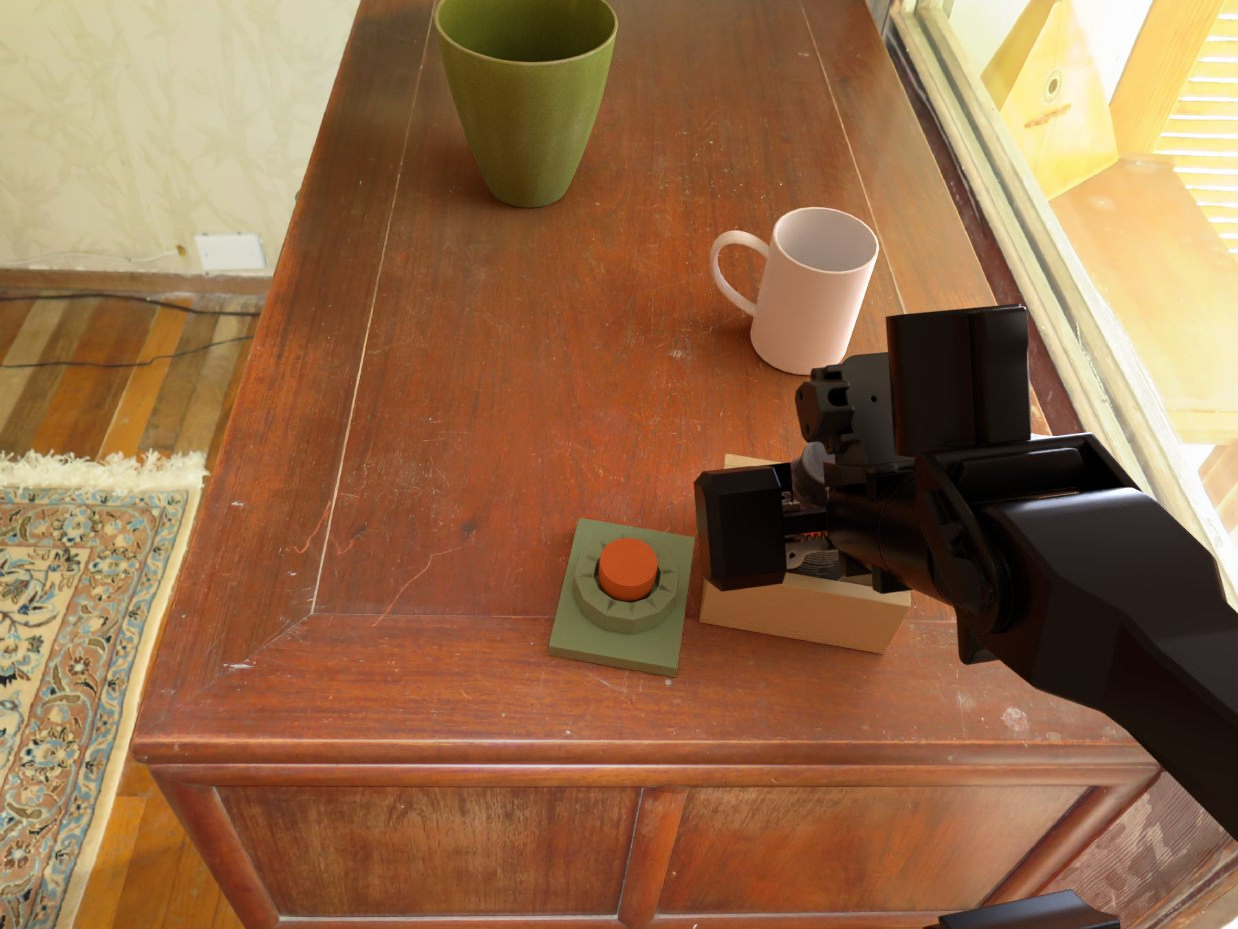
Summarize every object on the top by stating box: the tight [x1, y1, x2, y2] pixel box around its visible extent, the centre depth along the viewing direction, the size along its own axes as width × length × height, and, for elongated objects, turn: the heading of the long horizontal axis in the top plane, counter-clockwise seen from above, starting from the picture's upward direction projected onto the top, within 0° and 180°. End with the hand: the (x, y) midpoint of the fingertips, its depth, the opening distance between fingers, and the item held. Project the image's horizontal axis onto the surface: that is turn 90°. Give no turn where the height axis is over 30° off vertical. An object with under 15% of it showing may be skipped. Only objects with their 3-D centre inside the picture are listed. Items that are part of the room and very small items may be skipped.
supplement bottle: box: [787, 442, 845, 582], centre depth 61 cm, size 6×6×11 cm
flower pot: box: [433, 0, 619, 209], centre depth 86 cm, size 15×15×16 cm
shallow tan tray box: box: [698, 453, 912, 655], centre depth 64 cm, size 10×12×6 cm
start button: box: [598, 538, 658, 601], centre depth 62 cm, size 4×4×2 cm
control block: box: [547, 517, 696, 678], centre depth 63 cm, size 10×8×3 cm
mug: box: [709, 206, 880, 376], centre depth 77 cm, size 12×8×10 cm, turn 82°
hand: (812, 494), depth 61 cm, fingers closed on supplement bottle, 6 cm apart
